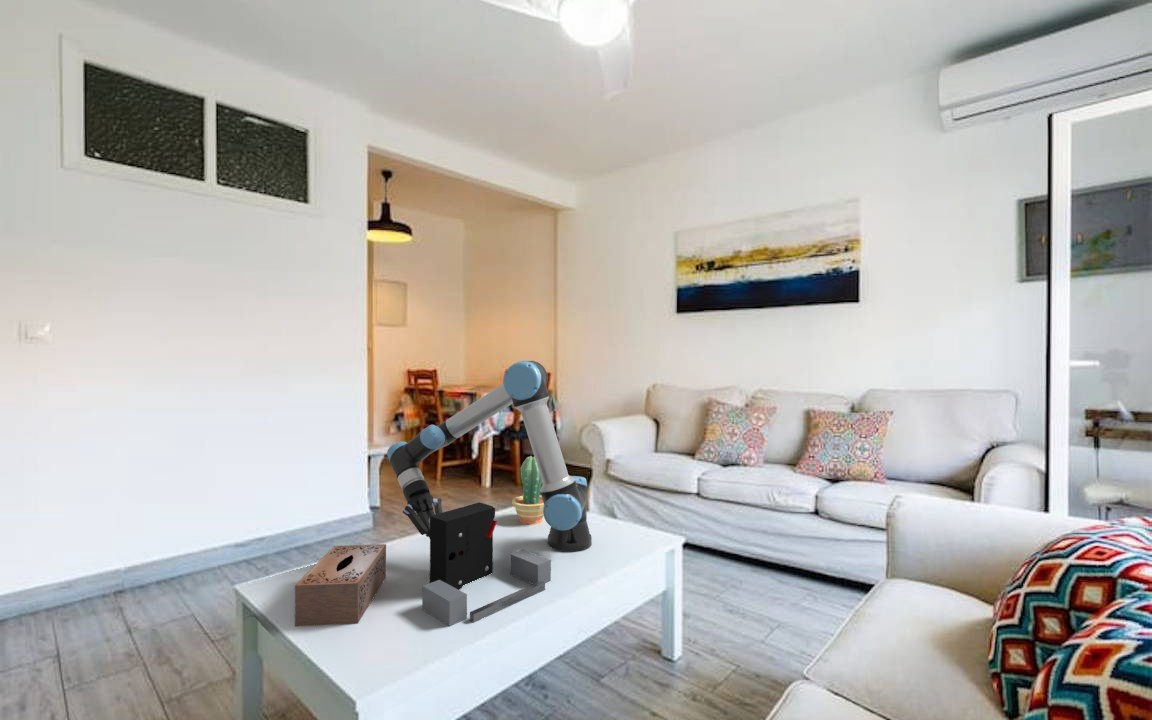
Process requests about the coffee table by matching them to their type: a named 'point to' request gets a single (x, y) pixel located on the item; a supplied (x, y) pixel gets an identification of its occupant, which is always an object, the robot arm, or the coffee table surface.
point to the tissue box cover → (340, 585)
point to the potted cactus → (530, 494)
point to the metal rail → (506, 601)
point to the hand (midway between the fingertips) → (442, 551)
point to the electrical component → (462, 544)
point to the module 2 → (530, 567)
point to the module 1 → (444, 602)
